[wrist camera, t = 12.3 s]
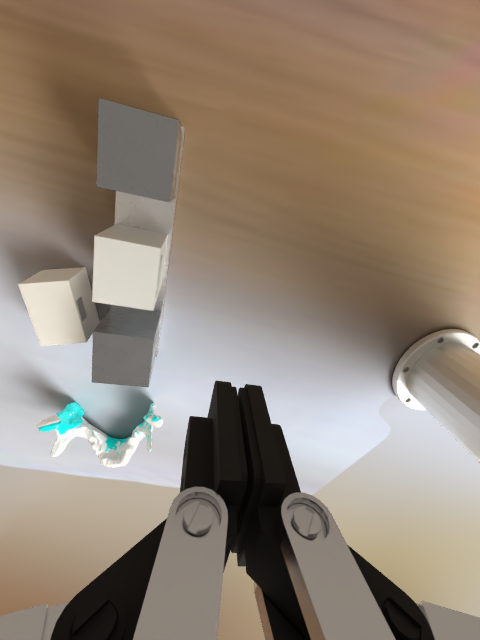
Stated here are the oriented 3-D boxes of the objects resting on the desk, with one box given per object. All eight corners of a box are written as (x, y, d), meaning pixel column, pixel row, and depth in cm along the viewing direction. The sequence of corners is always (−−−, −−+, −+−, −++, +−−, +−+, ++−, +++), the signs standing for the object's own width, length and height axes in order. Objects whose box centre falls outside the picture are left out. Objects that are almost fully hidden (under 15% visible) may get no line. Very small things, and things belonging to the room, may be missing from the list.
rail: (185, 130, 25) (181, 111, 19) (158, 350, 34) (149, 391, 27) (123, 113, 24) (97, 87, 18) (111, 344, 33) (90, 386, 26)
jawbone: (74, 455, 38) (34, 500, 29) (74, 394, 38) (34, 419, 29) (169, 451, 40) (160, 492, 30) (170, 392, 40) (161, 416, 30)
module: (168, 234, 27) (161, 248, 22) (161, 285, 29) (153, 311, 24) (116, 223, 26) (93, 235, 21) (112, 277, 28) (91, 301, 23)
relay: (86, 266, 29) (68, 280, 25) (100, 321, 32) (86, 342, 28) (42, 269, 29) (17, 284, 25) (60, 325, 31) (40, 346, 27)
